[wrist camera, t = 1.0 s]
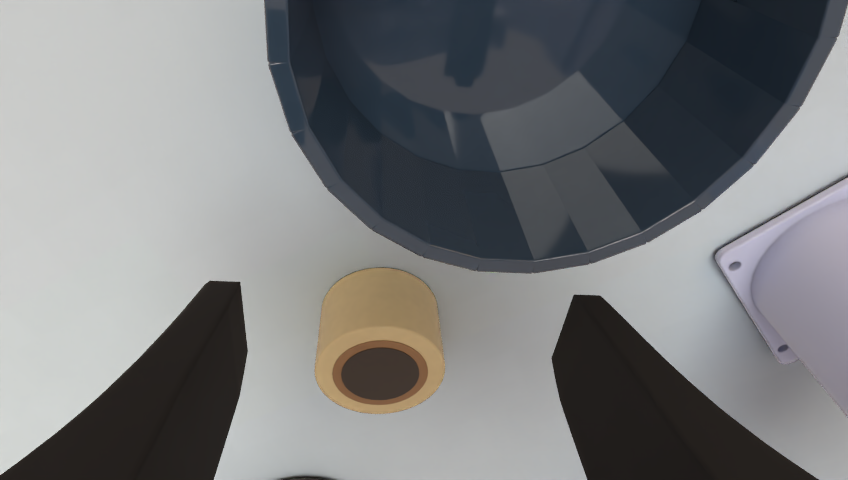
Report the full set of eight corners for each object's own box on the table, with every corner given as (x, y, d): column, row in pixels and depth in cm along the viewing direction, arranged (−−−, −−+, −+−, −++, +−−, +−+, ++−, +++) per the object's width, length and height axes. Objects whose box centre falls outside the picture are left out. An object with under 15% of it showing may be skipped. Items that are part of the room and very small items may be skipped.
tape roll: (460, 314, 25) (471, 376, 22) (375, 366, 27) (375, 431, 24) (385, 246, 23) (387, 306, 20) (297, 309, 24) (286, 373, 21)
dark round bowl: (775, 20, 18) (919, 83, 14) (464, 231, 23) (488, 338, 18) (590, -459, 12) (737, -667, 7) (204, -40, 16) (130, 10, 11)
